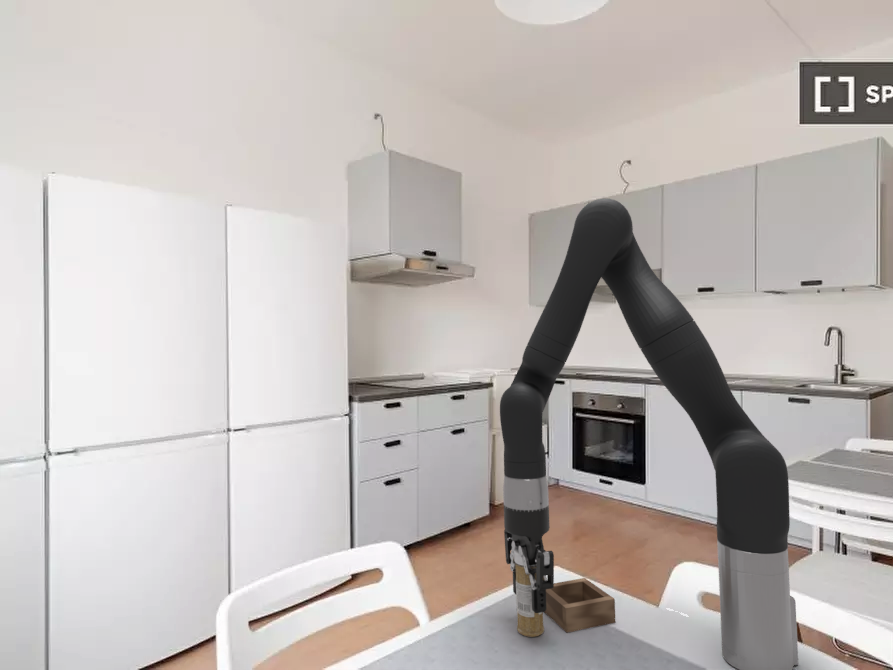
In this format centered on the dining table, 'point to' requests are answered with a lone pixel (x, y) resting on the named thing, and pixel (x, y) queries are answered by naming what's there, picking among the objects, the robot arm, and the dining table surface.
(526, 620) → the sprinkles bottle
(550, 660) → the dining table surface
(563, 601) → the frame
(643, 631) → the dining table surface
